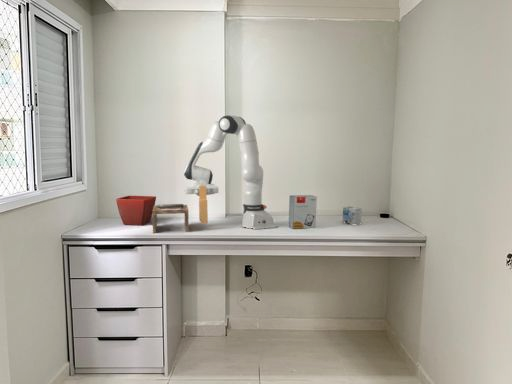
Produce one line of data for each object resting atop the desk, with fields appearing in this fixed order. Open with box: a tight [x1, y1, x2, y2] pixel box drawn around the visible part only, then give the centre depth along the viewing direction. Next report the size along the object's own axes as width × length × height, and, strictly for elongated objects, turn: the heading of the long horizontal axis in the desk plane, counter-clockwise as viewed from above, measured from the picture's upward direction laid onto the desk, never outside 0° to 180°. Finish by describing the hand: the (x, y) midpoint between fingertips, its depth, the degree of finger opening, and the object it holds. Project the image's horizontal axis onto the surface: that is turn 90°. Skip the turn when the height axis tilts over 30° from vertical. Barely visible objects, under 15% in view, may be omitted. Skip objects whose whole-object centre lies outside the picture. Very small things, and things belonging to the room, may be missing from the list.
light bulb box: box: [341, 205, 363, 225], centre depth 246 cm, size 11×7×11 cm, turn 37°
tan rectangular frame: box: [152, 203, 190, 234], centre depth 223 cm, size 20×20×15 cm
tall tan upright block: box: [198, 186, 209, 225], centre depth 226 cm, size 4×12×22 cm, turn 13°
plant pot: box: [115, 195, 157, 226], centre depth 239 cm, size 19×19×17 cm
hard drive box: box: [288, 194, 318, 230], centre depth 232 cm, size 16×8×20 cm, turn 105°
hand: (202, 191), depth 225 cm, fingers closed on tall tan upright block, 4 cm apart
